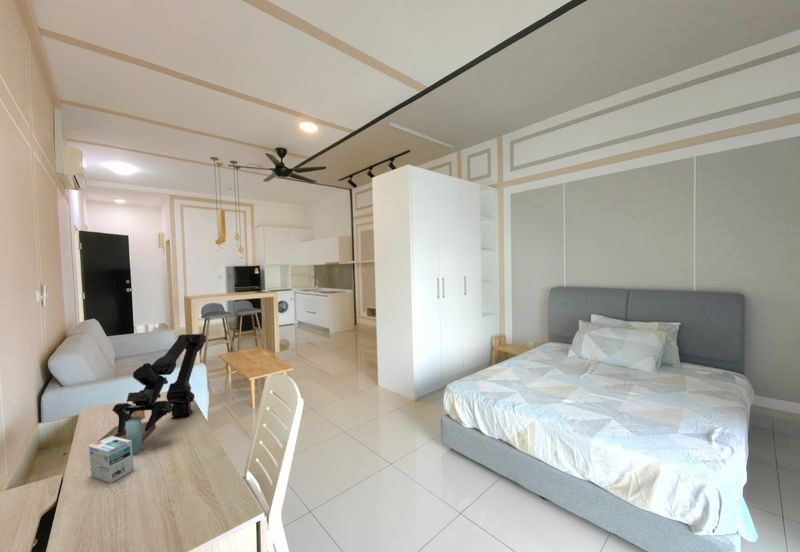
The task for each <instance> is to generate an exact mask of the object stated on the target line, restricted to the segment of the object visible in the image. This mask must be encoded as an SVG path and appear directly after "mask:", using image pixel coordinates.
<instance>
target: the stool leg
mask: <svg viewBox="0 0 800 552" xmlns="http://www.w3.org/2000/svg"><path fill="white" fill-rule="evenodd" d="M141 423H142V420H141V418H134V419H131V420H128V421H127V422H126V423H125V425H126V439H128V440H132V454H133V457H134V456H137V455H140V454H141V453H142V452H143V450H144V447H143V442H142V427H141Z"/></svg>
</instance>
